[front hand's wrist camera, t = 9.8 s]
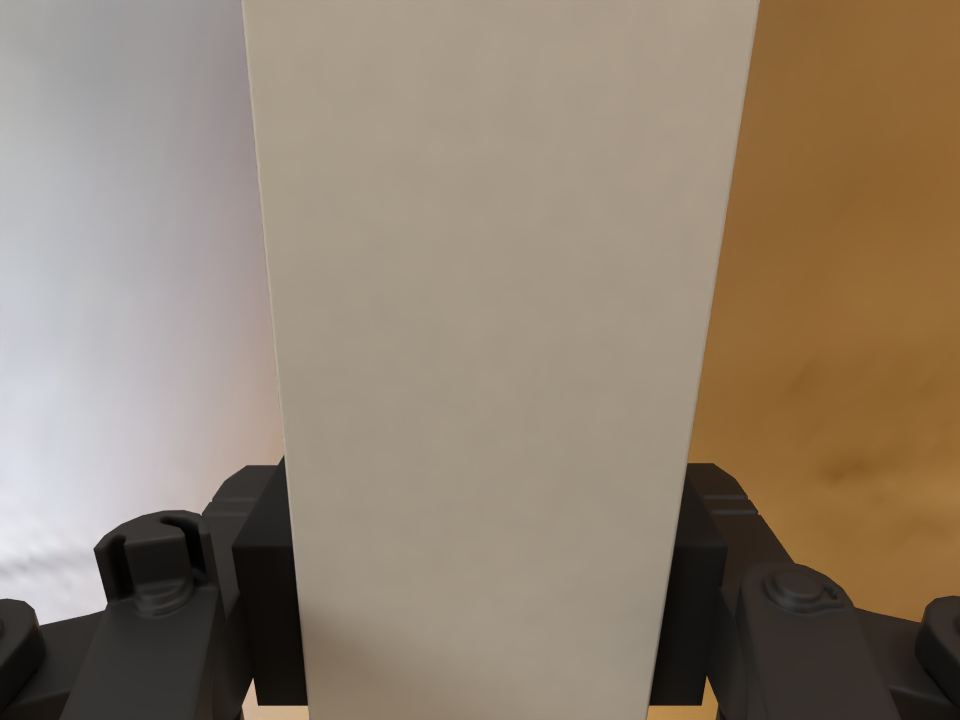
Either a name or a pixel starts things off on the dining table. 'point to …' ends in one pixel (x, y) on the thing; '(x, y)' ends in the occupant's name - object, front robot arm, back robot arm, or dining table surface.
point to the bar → (490, 334)
